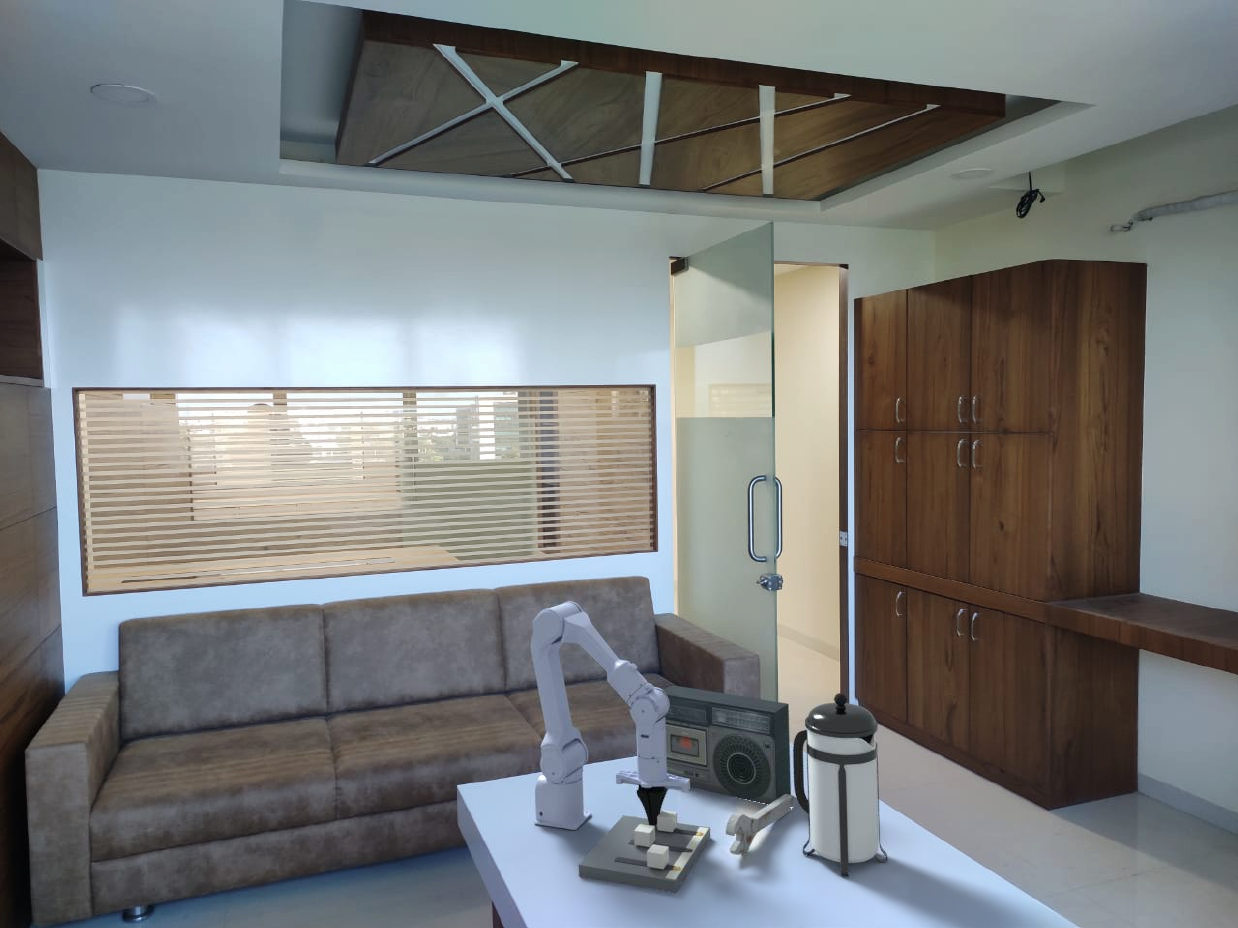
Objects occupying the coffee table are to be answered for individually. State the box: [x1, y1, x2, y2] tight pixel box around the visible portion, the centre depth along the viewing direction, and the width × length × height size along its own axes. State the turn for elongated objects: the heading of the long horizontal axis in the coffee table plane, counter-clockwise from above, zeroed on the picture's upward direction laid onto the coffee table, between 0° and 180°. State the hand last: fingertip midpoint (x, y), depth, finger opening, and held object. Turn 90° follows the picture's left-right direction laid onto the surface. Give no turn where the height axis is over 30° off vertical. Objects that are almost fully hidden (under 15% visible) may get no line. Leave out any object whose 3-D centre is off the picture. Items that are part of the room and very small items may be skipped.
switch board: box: [578, 815, 711, 894], centre depth 158 cm, size 18×22×2 cm
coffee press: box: [792, 692, 888, 877], centre depth 155 cm, size 17×16×30 cm
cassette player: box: [662, 685, 792, 806], centre depth 188 cm, size 29×7×20 cm, turn 55°
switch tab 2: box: [647, 844, 669, 869], centre depth 150 cm, size 3×3×3 cm
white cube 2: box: [634, 824, 655, 847], centre depth 158 cm, size 3×3×3 cm
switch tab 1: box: [657, 809, 678, 832], centre depth 164 cm, size 3×3×3 cm
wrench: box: [725, 794, 796, 856], centre depth 165 cm, size 8×2×30 cm
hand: (653, 823), depth 165 cm, fingers closed
